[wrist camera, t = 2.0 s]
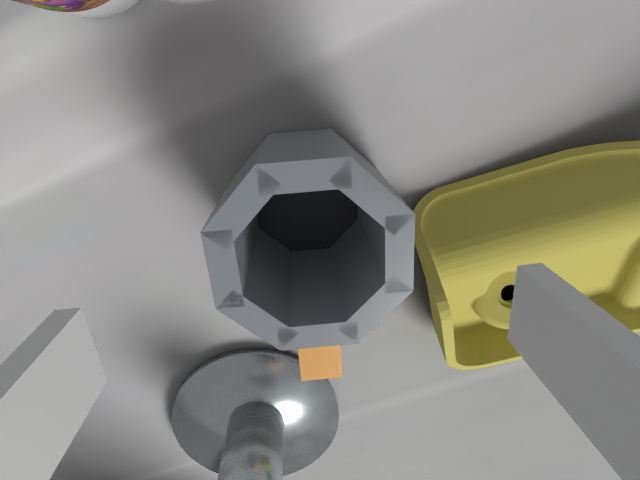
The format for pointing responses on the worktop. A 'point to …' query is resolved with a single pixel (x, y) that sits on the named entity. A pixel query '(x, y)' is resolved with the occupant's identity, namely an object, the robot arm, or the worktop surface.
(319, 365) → the grey octagonal holder
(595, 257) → the plastic component
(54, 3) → the milk bottle
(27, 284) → the worktop surface
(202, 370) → the duct stub
